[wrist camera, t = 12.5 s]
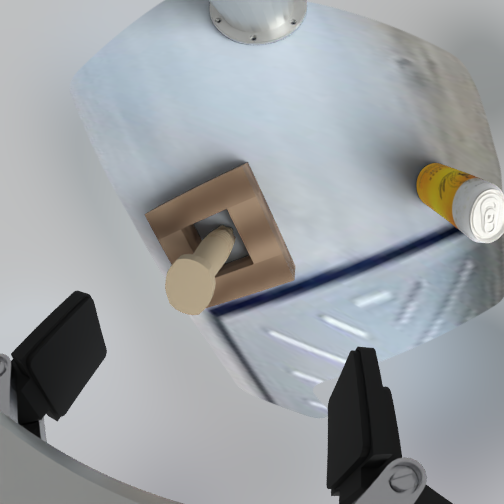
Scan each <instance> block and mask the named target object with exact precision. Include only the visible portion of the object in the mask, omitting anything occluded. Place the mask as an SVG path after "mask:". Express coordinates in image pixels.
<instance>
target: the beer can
mask: <svg viewBox="0 0 504 504" xmlns="http://www.w3.org/2000/svg"><path fill="white" fill-rule="evenodd" d="M416 186H417V193H418V195H419V197H420V199H421V200H422V202H423V203H424V204H426V205H427V206H429V207H430V208H431V209H433V210H434V211H435V212H437V213H438V214H440V215H441V216H442V217H444V218H445V219H446V220H447V221H449V222H450V223H451V224H453V225H454V226H455V227H456V228H458V229H459V230H460V231H461V232H463V233H464V234H465V235H466V236H468V237H469V238H470V239H471V240H473V241H475V242H479V243H482V242H483V243H491V242H493V241H495V240H497V239H498V238H499V237H500V236H501V235H502V234H503V233H504V194H503V193H502V191H501V190H500V188H499V187H498V186H496V185H495V184H493V183H490V182H488V181H485V180H483V179H480V178H478V177H475V176H473V175H470V174H467V173H465V172H462V171H459V170H457V169H454V168H451V167H448V166H445V165H442V164H439V163H432V164H429V165H427V166H425V167H424V168H423V169H422V170H421V172H420V173H419V176H418V178H417V185H416Z"/></svg>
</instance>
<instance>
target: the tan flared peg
mask: <svg viewBox="0 0 504 504" xmlns="http://www.w3.org/2000/svg"><path fill="white" fill-rule="evenodd" d="M234 243H235V236H234V234H233V229H232V228H231V227H230V228H229V227H225V226H224V225H221V226H219V227H218V228H217V229H215V230H213V231H212V232H210V233H209V234H208V235H207V236H206V237H205V238H204V239H203V240H202V241H201V243H200V244H199V246H198V247H197V249H196V250H195V252H194V253H193V254H184V255H181V256H180V257H179V258H178V259H177V260H176V261H175V262H174V264H173V265H172V266H171V267H170V269H169V271H168V272H167V276H166V284H165V285H166V286H165V289H166V293H167V297H168V299H169V302H170V304H171V305H172V306H173V307H174V308H175V309H177V310H178V311H180V312H182V313H185V314H189V315H198V314H200V313H201V312H202V311H203V310H204V309H205V308H206V307H207V306H208V304H209V303H210V301H211V299H212V297H213V294H214V290H215V285H216V281H215V275H216V274H217V273H218V271H219V270H220V269H221V267H222V266H223V264H224V263H225V262H226V260H227V259H228V257H229V255H230V253H231V250H232V248H233V244H234Z"/></svg>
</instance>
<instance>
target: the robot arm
mask: <svg viewBox="0 0 504 504" xmlns="http://www.w3.org/2000/svg"><path fill="white" fill-rule="evenodd" d="M209 1H210V7H209V12H210V16H211V19H212V21H213V23H214V25H215V26H216V28H217V29H218V30H219V31H220V32H221V33H222V34H223V35H225V36H226V37H228V38H229V39H231V40H234V41H236V42H239V43H243V44H248V45H264V44H269V43H274V42H277V41H279V40H282V39H284V38H286V37H287V36H289V35H291V34H292V33H293V32H294V31H295V30H297V29H298V27H299V26H300V25H301V23H302V22H303V20H304V18H305V15H306V10H307V1H306V0H209ZM219 21H221V22H220V23H219ZM292 23H295V25H292ZM253 38H256V40H255V41H253ZM106 353H107V350H106V346H105V343H104V339H103V335H102V332H101V328H100V324H99V320H98V316H97V313H96V308H95V304H94V301H93V299H92V298H91V296H90V295H89V294H87V293H83V292H80V291H75V292H73V293H72V294H71V295H70V296H69V297H68V298H67V299H66V300H65V301H64V302H63V303H62V304H61V305H59V307H57V308H56V309H55V310H54V311H53V312H52V313H51V314H50V315H49V316H48V317H47V318H46V319H45V320H44V321H43V322H42V323H41V324H40V325H39V326H38V327H37V328H36V329H35V330H34V331H33V332H32V333H31V334H30V335H29V336H28V337H27V338H26V339H25V340H24V341H23V342H22V343H21V344H20V345H19V346H18V347H17V348H16V349H15V350H14V352H12V353H11V355H12V357H13V360H12V361H11V360H10V359H9V357H8V356H7V355H4V354H0V504H183V503H179V502H176V501H173V500H170V499H166V498H163V497H160V496H157V495H155V494H152V493H149V492H146V491H143V490H141V489H138V488H136V487H133V486H131V485H128V484H125V483H123V482H121V481H118V480H116V479H114V478H112V477H109V476H107V475H105V474H103V473H101V472H99V471H97V470H95V469H92V468H91V467H89V466H87V465H85V464H83V463H81V462H79V461H77V460H75V459H73V458H72V457H70V456H68V455H66V454H65V453H63V452H61V451H59V450H57V449H56V448H54V447H53V446H51V445H49V444H48V443H47V441H46V434H45V425H44V415H45V414H47V415H48V416H49V417H51V418H53V419H55V420H56V421H58V420H59V418H60V417H61V416H64V415H65V414H66V413H67V411H68V409H69V408H70V407H71V405H72V404H73V402H74V401H75V399H76V398H77V396H78V395H79V394H80V392H81V391H82V389H83V388H84V386H85V385H86V384H87V382H88V381H89V379H90V378H91V376H92V375H93V374H94V372H95V371H96V369H97V368H98V367H99V365H100V364H101V362H102V361H103V360H104V358H105V356H106ZM327 462H328V463H327V488H328V489H331V496H339V504H452V503H451V502H450V501H448V500H447V499H445V498H444V497H443V496H441V495H440V494H438V493H437V492H435V491H434V490H433V489H431V488H430V487H429V486H427V485H426V479H427V476H426V472H425V469H424V468H423V466H422V465H421V464H420V463H419V462H417V461H416V460H414V459H411V458H402V454H401V446H400V439H399V433H398V427H397V421H396V415H395V410H394V405H393V399H392V394H391V391H390V389H389V388H388V387H383V385H382V380H381V375H380V370H379V366H378V361H377V356H376V351H375V349H374V348H366V347H357V348H356V350H355V351H350V353H349V356H348V358H347V361H346V363H345V365H344V368H343V370H342V372H341V375H340V377H339V379H338V381H337V384H336V386H335V388H334V390H333V392H332V395H331V397H330V399H329V403H328V460H327Z"/></svg>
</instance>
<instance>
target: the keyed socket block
mask: <svg viewBox="0 0 504 504" xmlns="http://www.w3.org/2000/svg"><path fill="white" fill-rule="evenodd" d="M225 209H227V210H228V212H229V214H230V216H231V218H232V220H233V223H234V225H235V227H236V229H237V231H238V233H239V235H240V237H241V239H242V241H243V243H244V245H245V247H246V249H247V251H248V253H249V256H246V257H243V258H241V259H238V260H235V261H232V262H230V263H227V264H224V265H223V266H222V267H221V269H220V270H219V271H218V273H217V274H216V275H215V281H216V285H215V290H214V294H213V297H212V299H211V301H210V303H209V304H208V306H207V307H206V308H208V307H211V306H215V305H218V304H221V303H225V302H228V301H231V300H234V299H237V298H241V297H244V296H247V295H250V294H253V293H256V292H260V291H263V290H266V289H269V288H272V287H275V286H278V285H281V284H284V283H287V282H290V281H293V280H294V277H295V265H294V262H293V260H292V258H291V256H290V253H289V251H288V249H287V247H286V244H285V242H284V240H283V238H282V235H281V233H280V231H279V229H278V226H277V224H276V222H275V220H274V218H273V215H272V213H271V211H270V209H269V207H268V205H267V202H266V200H265V198H264V196H263V194H262V192H261V189H260V187H259V185H258V183H257V181H256V179H255V177H254V174H253V172H252V170H251V168H250V166H249V164H248V162H247V163H245V164H243V165H241V166H239V167H236V168H234V169H232V170H230V171H228V172H226V173H224V174H221V175H219V176H217V177H215V178H213V179H211V180H209V181H207V182H205V183H203V184H201V185H199V186H197V187H195V188H193V189H191V190H189V191H187V192H185V193H183V194H181V195H179V196H177V197H175V198H173V199H171V200H169V201H167V202H165V203H164V204H162V205H160V206H158V207H156V208H155V209H153V210H151V211H150V212H148V213H146V214H145V216H146V218H147V220H148V222H149V224H150V226H151V228H152V230H153V231H154V233H155V235H156V237H157V239H158V241H159V242H160V244H161V246H162V248H163V250H164V251H165V253H166V255H167V257H168V259H169V260H170V262H171V264H172V265H173V264H174V262H175V261H176V260H177V259H178V258H179V257H180V256H181V255H184V254H193V253H194V252H195V250H196V249H197V247H198V246H199V244H200V243H201V241H202V240H201V238H200V236H199V234H198V232H197V230H196V228H195V226H194V223H196V222H198V221H200V220H203V219H205V218H207V217H209V216H212V215H214V214H216V213H218V212H221V211H223V210H225Z"/></svg>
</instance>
